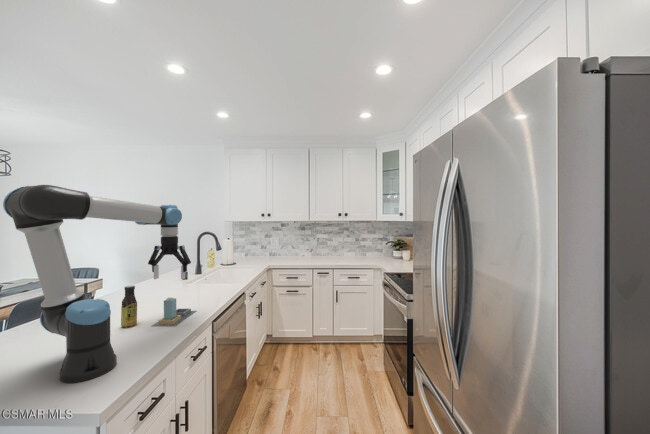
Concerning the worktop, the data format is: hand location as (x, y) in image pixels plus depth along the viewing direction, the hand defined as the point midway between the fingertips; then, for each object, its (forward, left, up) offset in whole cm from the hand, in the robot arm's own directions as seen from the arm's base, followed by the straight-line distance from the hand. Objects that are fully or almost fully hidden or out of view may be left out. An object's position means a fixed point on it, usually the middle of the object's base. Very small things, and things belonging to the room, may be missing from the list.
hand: (169, 278), depth 138 cm
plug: (0, 0, -21) cm, 21 cm away
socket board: (+5, 0, -22) cm, 23 cm away
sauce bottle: (-5, +17, -23) cm, 29 cm away
